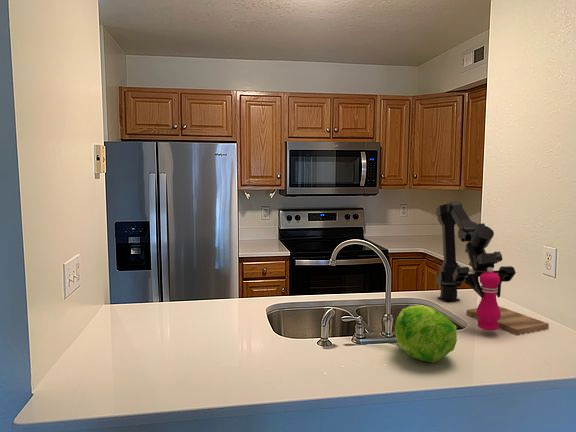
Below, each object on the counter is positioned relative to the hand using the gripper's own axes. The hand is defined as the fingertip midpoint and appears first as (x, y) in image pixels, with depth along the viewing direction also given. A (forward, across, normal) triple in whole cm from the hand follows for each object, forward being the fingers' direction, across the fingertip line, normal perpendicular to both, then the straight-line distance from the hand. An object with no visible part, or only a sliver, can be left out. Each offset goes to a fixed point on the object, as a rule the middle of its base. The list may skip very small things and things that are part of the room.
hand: (490, 297), depth 135 cm
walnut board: (+1, +11, +18) cm, 21 cm away
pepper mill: (+7, 0, +8) cm, 11 cm away
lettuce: (+20, -26, -2) cm, 33 cm away
